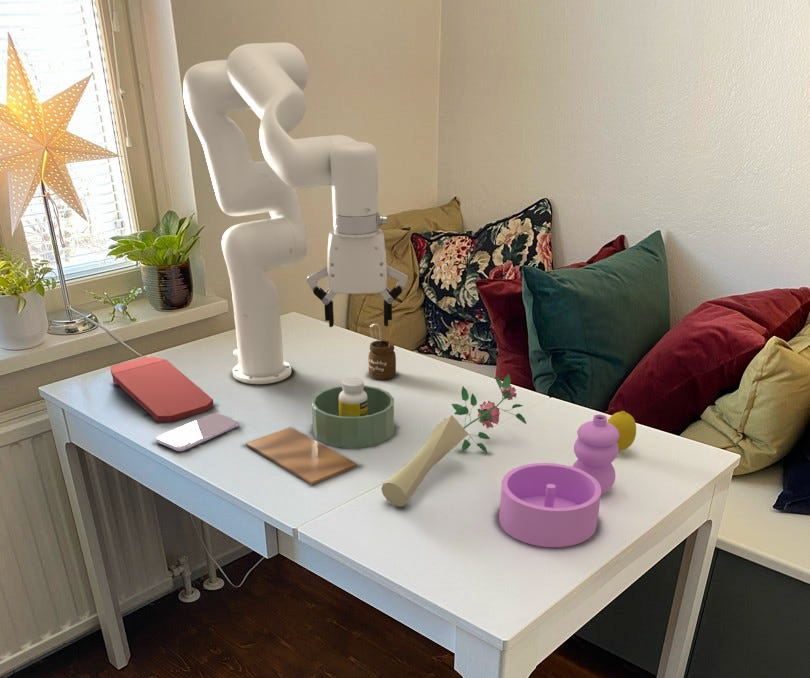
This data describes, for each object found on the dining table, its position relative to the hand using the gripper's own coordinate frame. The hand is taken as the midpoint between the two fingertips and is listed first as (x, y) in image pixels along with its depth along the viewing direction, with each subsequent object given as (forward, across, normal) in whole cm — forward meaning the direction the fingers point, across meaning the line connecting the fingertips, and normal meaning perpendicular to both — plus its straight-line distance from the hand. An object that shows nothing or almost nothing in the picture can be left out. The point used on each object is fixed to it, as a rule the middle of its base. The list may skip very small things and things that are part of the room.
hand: (358, 324), depth 155 cm
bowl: (+21, +2, -1) cm, 21 cm away
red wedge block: (+21, +42, -18) cm, 50 cm away
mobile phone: (+21, +31, 0) cm, 37 cm away
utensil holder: (+21, -4, -28) cm, 36 cm away
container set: (+22, -33, +30) cm, 49 cm away
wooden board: (+21, +11, +9) cm, 25 cm away
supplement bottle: (+21, +2, -1) cm, 21 cm away
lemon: (+21, -46, +10) cm, 52 cm away
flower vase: (+21, -16, +15) cm, 30 cm away
